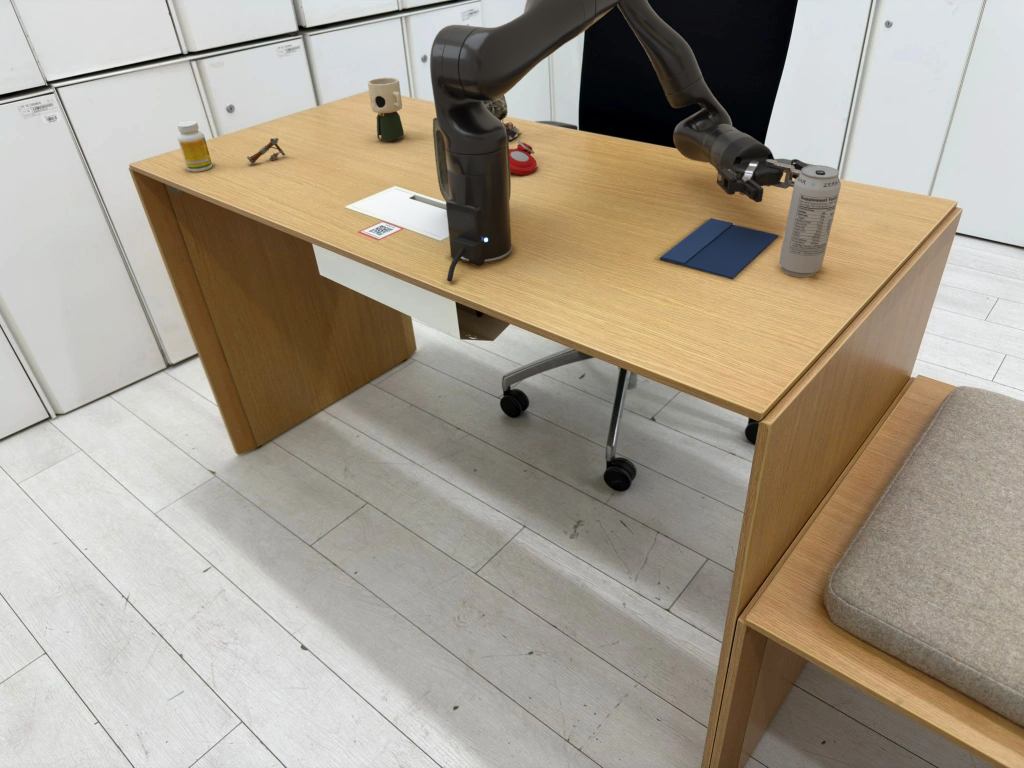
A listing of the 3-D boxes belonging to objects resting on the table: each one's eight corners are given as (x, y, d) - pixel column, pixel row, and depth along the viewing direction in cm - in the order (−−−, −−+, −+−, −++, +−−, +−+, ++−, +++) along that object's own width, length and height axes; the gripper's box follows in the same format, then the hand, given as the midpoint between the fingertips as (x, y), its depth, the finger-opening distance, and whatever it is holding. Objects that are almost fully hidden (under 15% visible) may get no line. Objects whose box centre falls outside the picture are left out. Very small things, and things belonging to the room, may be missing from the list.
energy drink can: (819, 262, 108) (841, 164, 99) (821, 280, 103) (846, 179, 95) (777, 259, 109) (796, 162, 101) (778, 277, 105) (798, 177, 96)
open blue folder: (732, 279, 105) (733, 275, 104) (659, 259, 111) (659, 256, 111) (778, 236, 116) (778, 233, 116) (709, 220, 122) (710, 217, 122)
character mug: (365, 138, 169) (355, 80, 162) (388, 131, 173) (380, 74, 166) (393, 147, 163) (385, 87, 155) (417, 139, 167) (410, 80, 159)
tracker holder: (542, 169, 143) (494, 161, 141) (536, 188, 147) (489, 180, 144) (535, 138, 151) (489, 130, 149) (530, 156, 155) (485, 149, 152)
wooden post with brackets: (289, 152, 159) (277, 135, 156) (261, 174, 158) (248, 158, 155) (286, 151, 161) (274, 134, 157) (258, 172, 159) (245, 156, 156)
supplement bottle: (183, 168, 157) (170, 123, 151) (207, 162, 159) (195, 118, 154) (192, 174, 153) (178, 128, 148) (216, 168, 156) (203, 123, 150)
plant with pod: (471, 141, 164) (464, 47, 153) (503, 128, 171) (498, 38, 160) (498, 147, 160) (493, 50, 148) (529, 134, 167) (527, 41, 155)
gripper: (702, 140, 116) (746, 173, 103) (784, 132, 118) (837, 163, 105) (697, 185, 121) (739, 221, 108) (776, 176, 122) (826, 212, 109)
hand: (787, 193), depth 106 cm, fingers open, 8 cm apart
